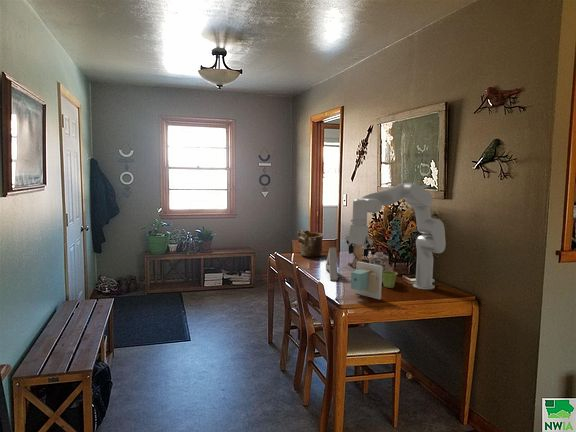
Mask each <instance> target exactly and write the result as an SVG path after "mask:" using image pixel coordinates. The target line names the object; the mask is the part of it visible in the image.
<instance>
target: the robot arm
mask: <svg viewBox="0 0 576 432" xmlns="http://www.w3.org/2000/svg"><path fill="white" fill-rule="evenodd" d="M402 200H404V201H405V203H406V204H407V205H409V206H410V207H412V208H413V210H414V213H415V220H416V222H415V223H416V229H417V231H418V232H419V233H420V234H421V235H419V236H417V238H416V239H415V247H416V266H415V267H416V268H415V282H414V283H412V287H413V288H415V289H419V290H433V289H435V285H434V284H433V283H434V282H435V281H436V280H435V279H434V278H433V273H434V256H433V253H434V254H441V253H443V252H444V251H445V250H446V247H447V246H446V244H447V243H446V231H445V225H444V223H443V221H442V220H440V218H439V219H438V218H433V217H432V214H431V209H430V206H432V204H433V201H434V198H433V194H432V193H431V191H429V190H427V189H425V188H424V187H422V186H421V185H419V184H418V183H414V182H413V183H412V182H401V183H399V184H396V185H394V186H391V187H390V188H387V189H384V190H381V191H378V192H373V193H369V194H367V195H364V196H363V197H360V198H356V199H354V200H353V201H352V219H350V222H351V223H352V224H350V227H349V233H348V235H347V236H345V238H344V239H345V241H346V244H347V247H348V255H349V254H350V255H351V254H353V246H354V244H358V245H362V247H364V248H363V257H368V256H369V250H370V248H371V247H372V245H373V244H374V240H372V239H371V238H370V236H369V226H368V225H367V224H368V213H370V214H376V213H379V212H380V211H381V210H382V208H383V206H389V205H394V204H396V203H397V202H399V201H402Z"/></svg>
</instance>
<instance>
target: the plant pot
mask: <svg viewBox="0 0 576 432" xmlns="http://www.w3.org/2000/svg"><path fill="white" fill-rule="evenodd" d="M397 275H398V272H396V271H393V270H392V271H391V270H388V271H382V276H383V283H382V284H383V287H384V288H387V289H388V288H389V289H390V288H391V289H393V288H395V284H396V279H397Z"/></svg>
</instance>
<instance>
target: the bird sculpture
mask: <svg viewBox="0 0 576 432" xmlns="http://www.w3.org/2000/svg"><path fill="white" fill-rule="evenodd" d="M352 246H353V253H352V254H353V256H354V258H353V259H352V260H353V261H352V262H348V263H347V265H348V266H352V269H356V263H357V262H358V261H359V262H363V245H358V244H353V245H352Z"/></svg>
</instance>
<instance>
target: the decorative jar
mask: <svg viewBox="0 0 576 432" xmlns="http://www.w3.org/2000/svg"><path fill="white" fill-rule="evenodd" d="M369 255H370V256H369V259H368V263H369V264H374V265H379V266H382V271H389V266H390V265H389V261H390V257H389V256H388V255H387V254H384V252H381V251H377V252H375V253H374V254H369ZM382 284H383V276H382Z"/></svg>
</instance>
